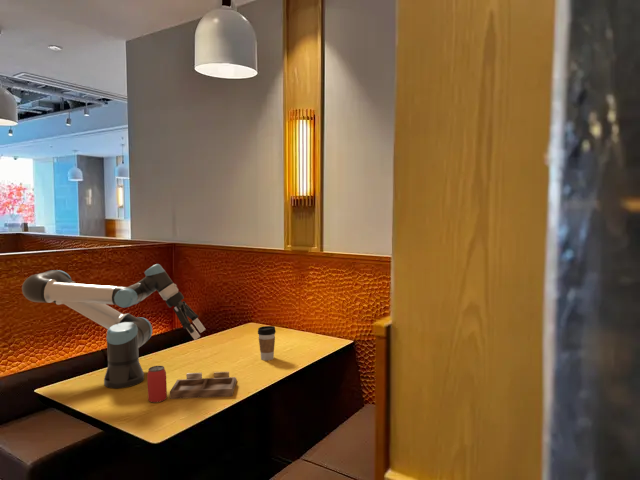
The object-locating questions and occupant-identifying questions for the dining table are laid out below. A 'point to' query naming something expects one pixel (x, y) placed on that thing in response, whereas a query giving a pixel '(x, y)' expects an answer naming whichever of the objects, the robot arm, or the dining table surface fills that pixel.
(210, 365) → the dining table surface
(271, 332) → the coffee cup
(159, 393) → the beer can
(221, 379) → the brown desk organizer
